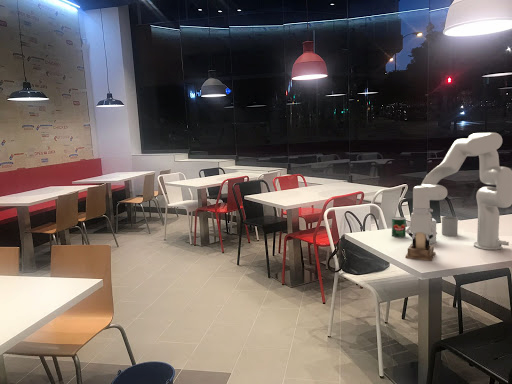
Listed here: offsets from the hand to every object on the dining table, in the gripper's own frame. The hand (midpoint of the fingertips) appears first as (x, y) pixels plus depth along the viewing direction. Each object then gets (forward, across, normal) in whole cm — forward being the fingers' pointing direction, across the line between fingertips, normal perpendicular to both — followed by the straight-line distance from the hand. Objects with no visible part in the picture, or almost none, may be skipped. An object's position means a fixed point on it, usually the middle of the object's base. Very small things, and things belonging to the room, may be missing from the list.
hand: (420, 246), depth 196 cm
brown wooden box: (+5, 0, 0) cm, 5 cm away
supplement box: (+5, +1, -29) cm, 29 cm away
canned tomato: (+5, +18, -35) cm, 40 cm away
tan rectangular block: (+2, 0, 0) cm, 2 cm away
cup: (+5, -8, -49) cm, 50 cm away
